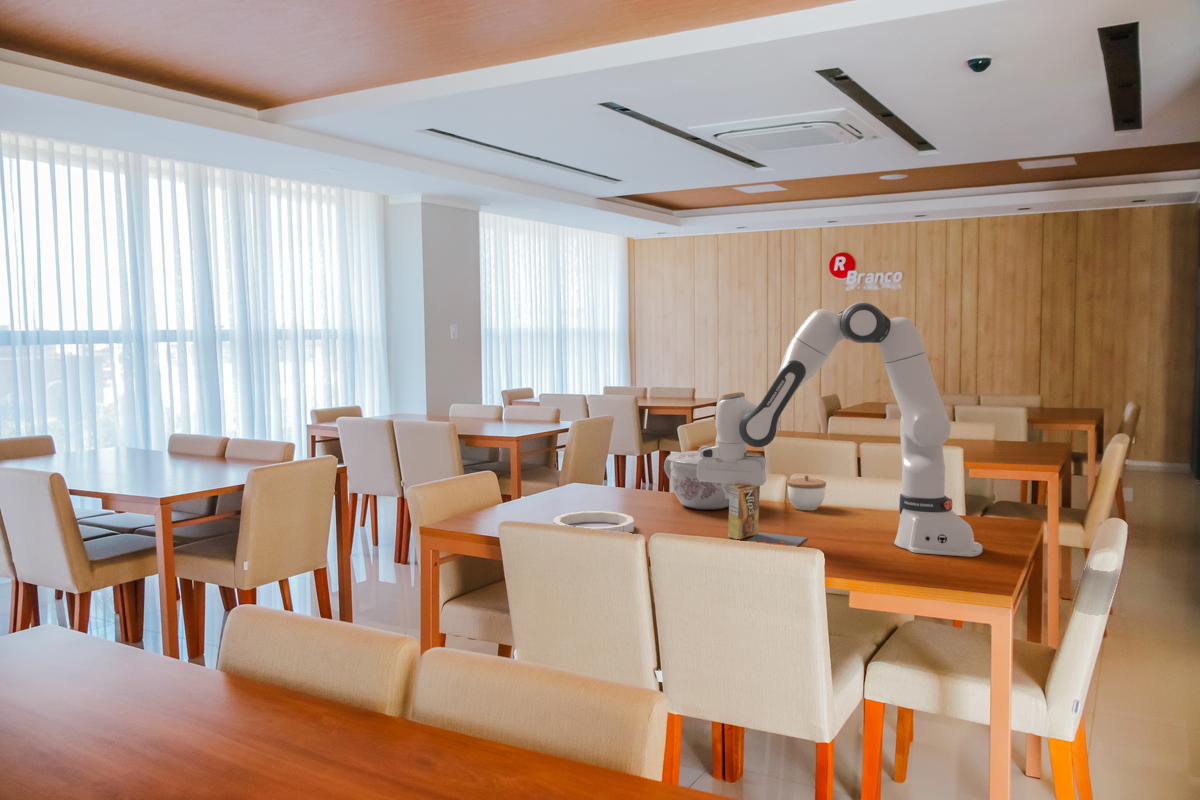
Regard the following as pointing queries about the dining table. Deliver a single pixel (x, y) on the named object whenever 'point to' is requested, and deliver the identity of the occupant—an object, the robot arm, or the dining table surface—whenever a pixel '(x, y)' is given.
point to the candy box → (743, 511)
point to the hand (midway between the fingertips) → (730, 498)
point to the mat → (778, 539)
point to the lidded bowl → (806, 492)
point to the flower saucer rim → (598, 520)
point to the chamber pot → (693, 482)
